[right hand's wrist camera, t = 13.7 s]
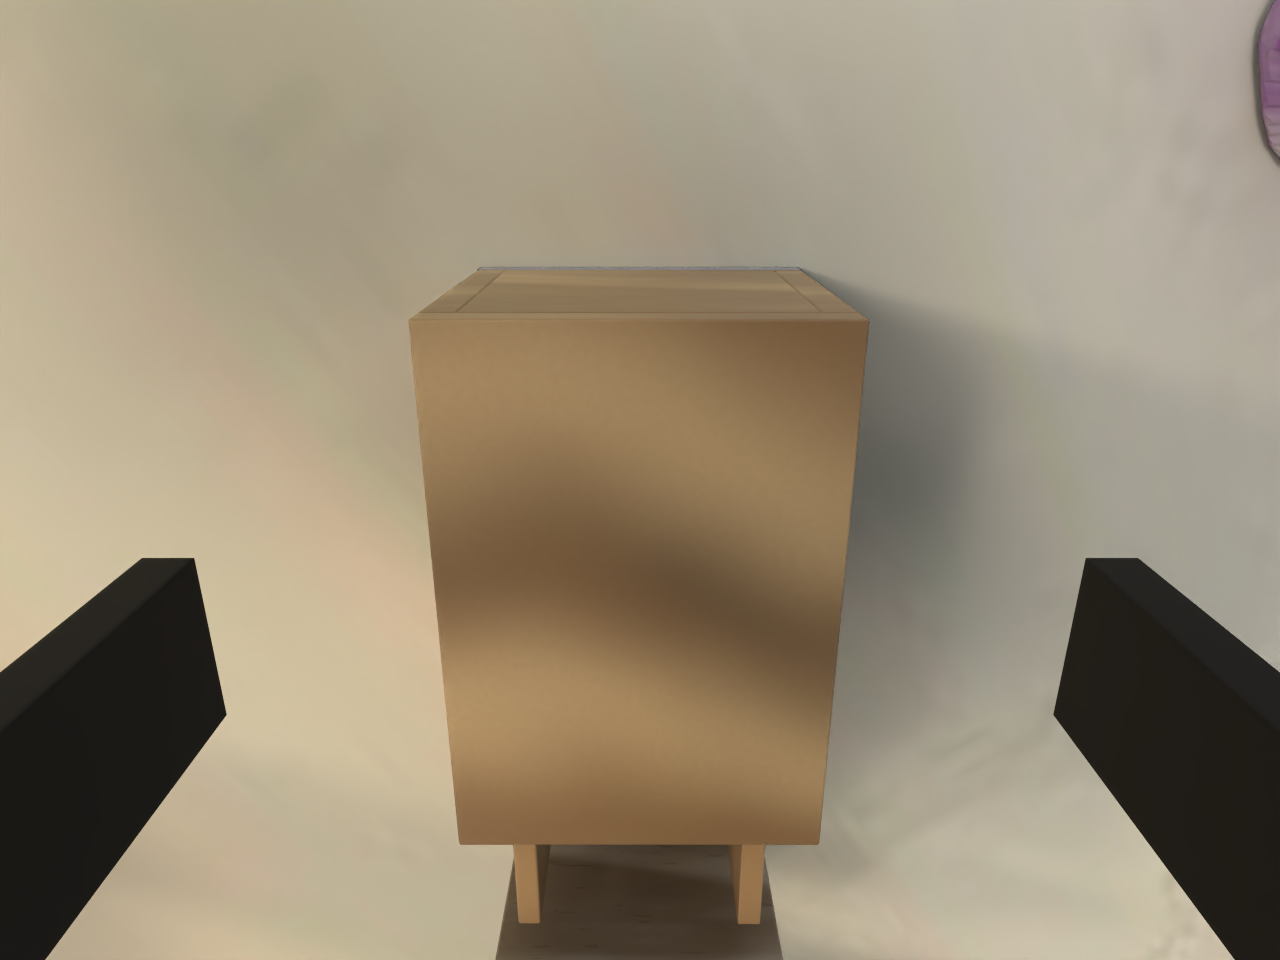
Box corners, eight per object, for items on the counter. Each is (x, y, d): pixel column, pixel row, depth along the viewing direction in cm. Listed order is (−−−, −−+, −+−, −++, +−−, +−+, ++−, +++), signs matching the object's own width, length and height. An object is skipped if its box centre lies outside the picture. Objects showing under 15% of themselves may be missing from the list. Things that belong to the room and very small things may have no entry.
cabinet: (772, 663, 37) (819, 846, 27) (506, 663, 37) (458, 846, 27) (798, 267, 31) (870, 318, 21) (480, 267, 31) (406, 318, 21)
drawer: (746, 915, 41) (772, 1098, 33) (531, 915, 41) (505, 1098, 33) (772, 501, 33) (813, 609, 25) (506, 501, 33) (464, 609, 25)
